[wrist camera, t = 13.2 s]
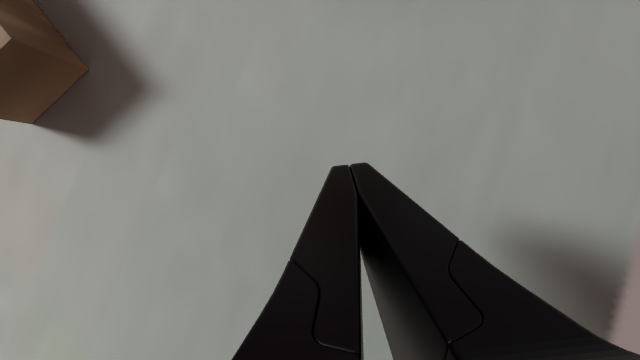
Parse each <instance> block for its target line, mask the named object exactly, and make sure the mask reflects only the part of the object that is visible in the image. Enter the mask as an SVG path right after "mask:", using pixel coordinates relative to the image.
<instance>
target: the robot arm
mask: <svg viewBox="0 0 640 360" xmlns="http://www.w3.org/2000/svg"><path fill="white" fill-rule="evenodd" d="M360 251H361V255H362V259H363V262H364V265H365V269H366V272H367V275H368V278H369V282H370V285H371V288H372V291H373V295H374V298H375V301H376V304H377V308H378V311H379V314H380V317H381V321H382V324H383V327H384V330H385V334H386V337H387V340H388V343H389V347H390V350H391V353H392V356H393V360H640V355H639V354H636V353H633V352H630V351H627V350H625V349H623V348H620V347H618V346H616V345H614V344H612V343H610V342H608V341H606V340H604V339H602V338H600V337H598V336H597V335H595V334H593V333H592V332H590V331H589V330H587V329H586V328H584V327H582V326H581V325H579V324H578V323H576V322H575V321H574V320H572V319H571V318H569V317H568V316H566V315H565V314H563V313H562V312H560V311H559V310H557V309H556V308H554V307H553V306H551V305H550V304H548V303H547V302H545V301H544V300H542V299H541V298H539V297H538V296H536V295H535V294H533V293H532V292H530V291H529V290H527V289H526V288H524V287H523V286H521V285H520V284H519V283H517V282H516V281H514V280H513V279H511V278H510V277H509V276H507V275H506V274H504V273H503V272H501V271H500V270H499V269H497V268H496V267H494V266H493V265H492V264H491V263H489V262H488V261H487V260H485V259H484V258H483V257H482V256H480V255H479V254H478V253H476V252H475V251H474V250H473V249H471V248H470V247H469V246H468V245H467V244H465V243H464V242H463V241H461V240H460V241H459V238H458V237H457V236H455V235H454V234H453V233H452V232H451V231H449V230H448V229H447V228H446V227H445V226H443V225H442V224H441V223H440V222H438V221H437V220H436V219H435V218H434V217H432V216H431V215H430V214H429V213H428V212H426V211H425V210H424V209H423V208H421V207H420V206H419V205H418V204H417V203H415V202H414V201H413V200H412V199H411V198H409V197H408V196H407V195H406V194H404V193H403V192H402V191H401V190H400V189H398V188H397V187H396V186H395V185H394V184H392V183H391V182H390V181H389V180H387V179H386V178H385V177H384V176H383V175H381V174H380V173H379V172H378V171H377V170H375V169H374V168H373V167H372V166H370V165H369V164H368V163H357V164H351V165H350V167H349V166H348V165H340V166H333V167H332V168H331V170H330V172H329V174H328V177H327V179H326V181H325V183H324V185H323V187H322V190H321V192H320V194H319V196H318V198H317V201H316V203H315V205H314V207H313V209H312V211H311V214H310V216H309V218H308V220H307V222H306V224H305V227H304V229H303V231H302V233H301V235H300V238H299V240H298V242H297V244H296V246H295V248H294V251H293V253H292V255H291V257H290V261H288V263H287V266H286V268H285V270H284V272H283V274H282V276H281V278H280V280H279V282H278V284H277V286H276V288H275V290H274V292H273V294H272V296H271V297H270V299H269V301H268V302H267V304H266V306H265V307H264V309H263V311H262V312H261V314H260V316H259V317H258V319H257V321H256V322H255V324H254V325H253V327H252V328H251V330H250V332H249V333H248V335H247V336H246V338H245V339H244V341H243V343H242V344H241V346H240V347H239V349H238V350H237V352H236V354H235V355H234V357H233V358H232V360H364V354H363V321H362V289H361V258H360Z"/></svg>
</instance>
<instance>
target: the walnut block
mask: <svg viewBox="0 0 640 360" xmlns="http://www.w3.org/2000/svg"><path fill="white" fill-rule="evenodd" d="M88 70H89V69H88V68H87V67H86V66H85V65H84V63H83V62H82V61H81V60H80V58H79V57H78V56H77V55H76V53H75V52H74V51H73V50H72V49H71V47H70V46H69V45H68V44H67V42H66V41H65V40H64V39H63V37H62V36H61V35H60V34H59V32H58V31H57V30H56V29H55V28H54V26H53V25H52V24H51V23H50V21H49V20H48V19H47V18H46V16H45V15H44V14H43V13H42V12H41V10H40V9H39V8H38V7H37V5H36V4H35V3H34V2H33V0H0V119H4V120H10V121H16V122H22V123H28V124H32V123H33V122H34V121H35V120H36V119H37V118H39V117H40V116H41V115H42V114H43V113H44V112H45V111H46V110H47V109H48V108H49V107H50V106H51V105H52V104H53V103H54V102H55V101H56V100H57V99H58V98H59V97H61V96H62V95H63V94H64V93H65V92H66V91H67V90H68V89H69V88H70V87H71V86H72V85H73V84H74V83H75V82H76V81H77V80H78V79H79V78H80V77H82V76H83V75H84V74H85V73H86V72H87V71H88Z"/></svg>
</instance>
